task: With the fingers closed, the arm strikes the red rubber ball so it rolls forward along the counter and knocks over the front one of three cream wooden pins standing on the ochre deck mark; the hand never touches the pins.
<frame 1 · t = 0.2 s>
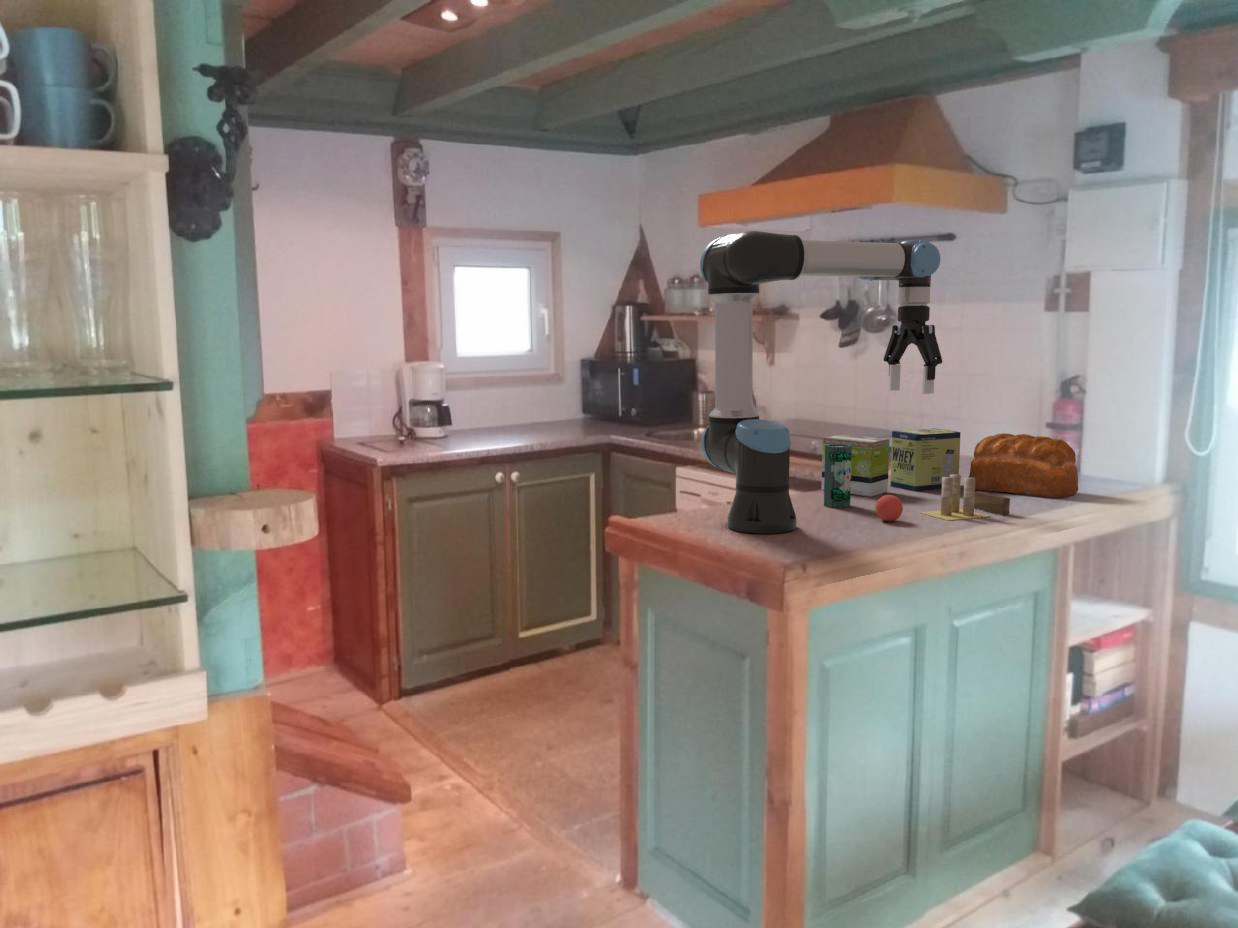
hand: (910, 392, 241), 28 cm above the counter, tool pointing down, fingers open, 13 cm apart
can: (836, 506, 241), on the counter
ball: (889, 508, 221), on the counter
pin front: (946, 515, 227), on the counter
pin rear left: (953, 512, 231), on the counter
back rail: (990, 511, 232), on the counter
deck mark: (954, 514, 228), on the counter
protein box: (924, 487, 268), on the counter
bread: (1021, 492, 260), on the counter
pin rear right: (968, 516, 226), on the counter
tea box: (854, 492, 262), on the counter
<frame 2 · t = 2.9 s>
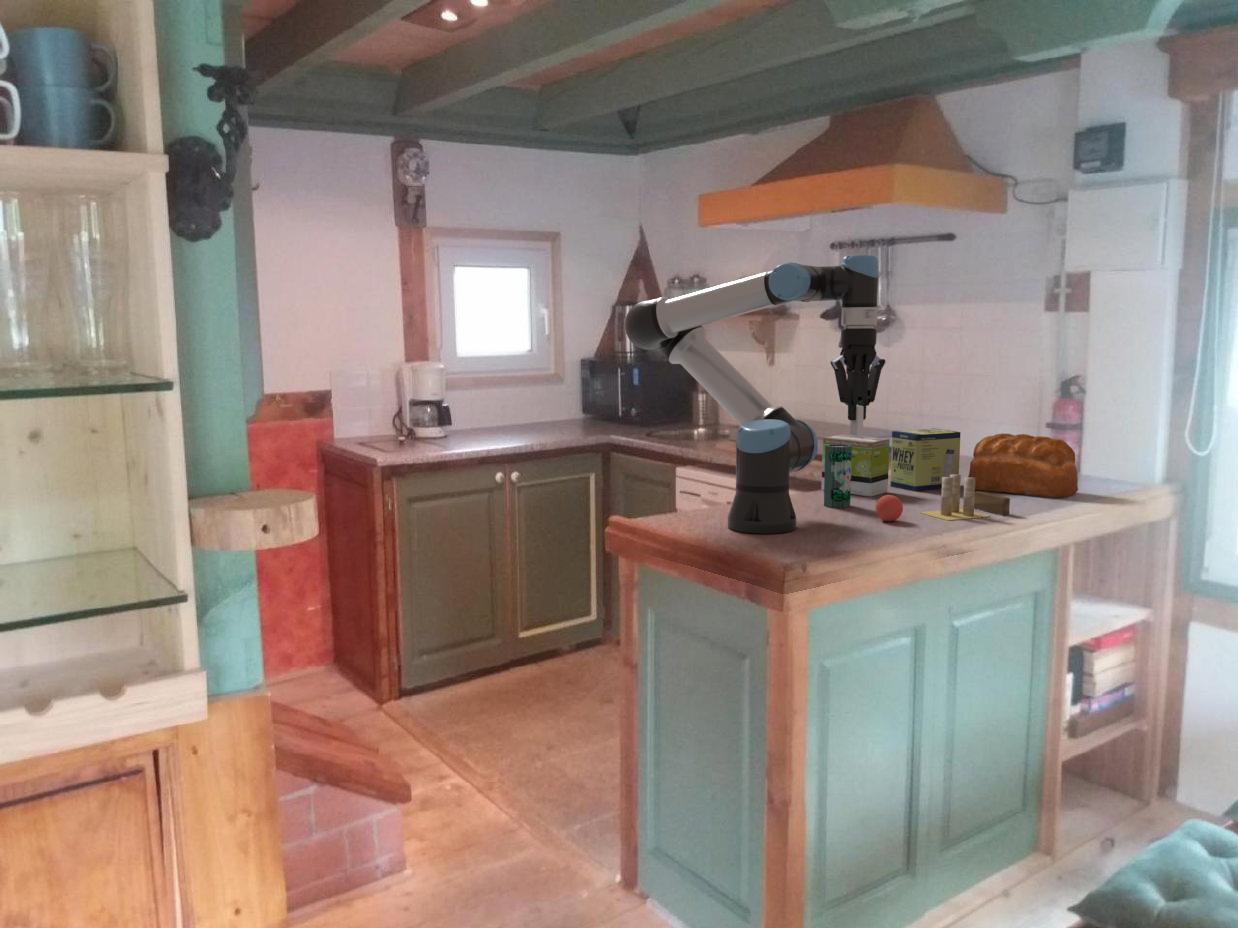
hand: (856, 434, 215), 20 cm above the counter, tool pointing down, fingers closed
nothing on the counter moved.
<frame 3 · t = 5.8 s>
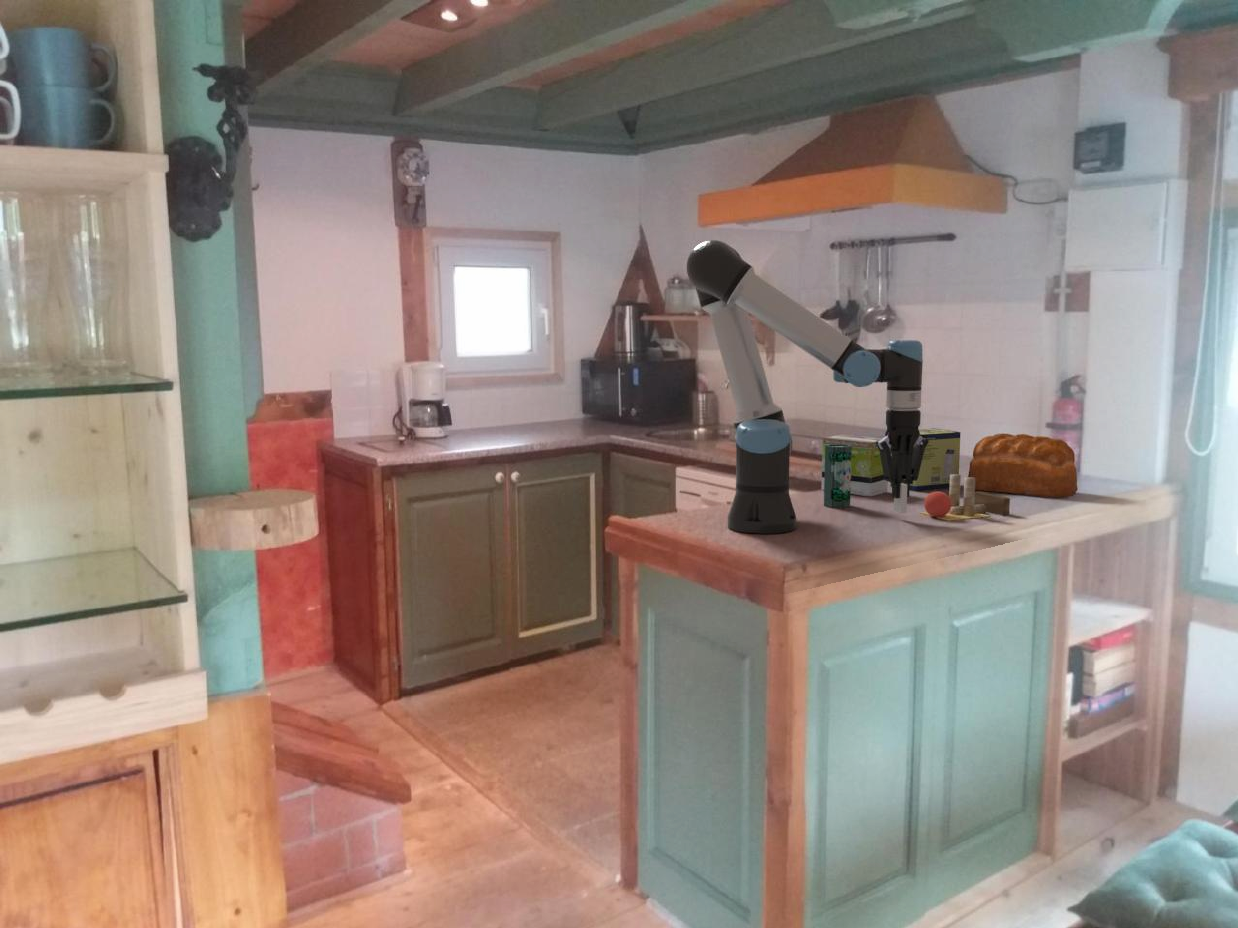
hand: (900, 511, 222), 2 cm above the counter, tool pointing down, fingers closed
ball: (937, 504, 225), on the counter
pin front: (951, 512, 228), point 1 cm above the counter, tilted 90°
everything else where it was.
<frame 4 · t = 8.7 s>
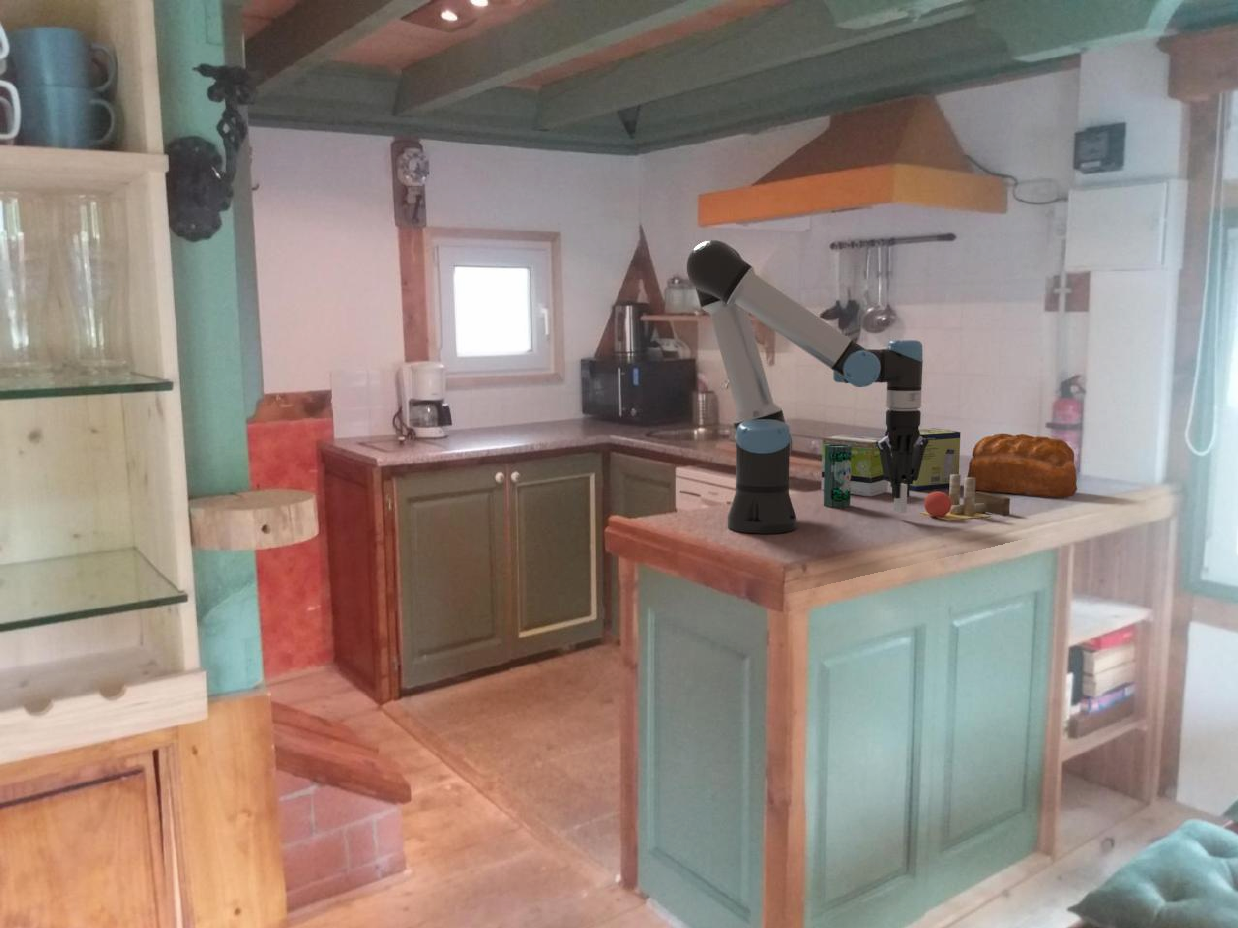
hand: (900, 511, 222), 2 cm above the counter, tool pointing down, fingers closed
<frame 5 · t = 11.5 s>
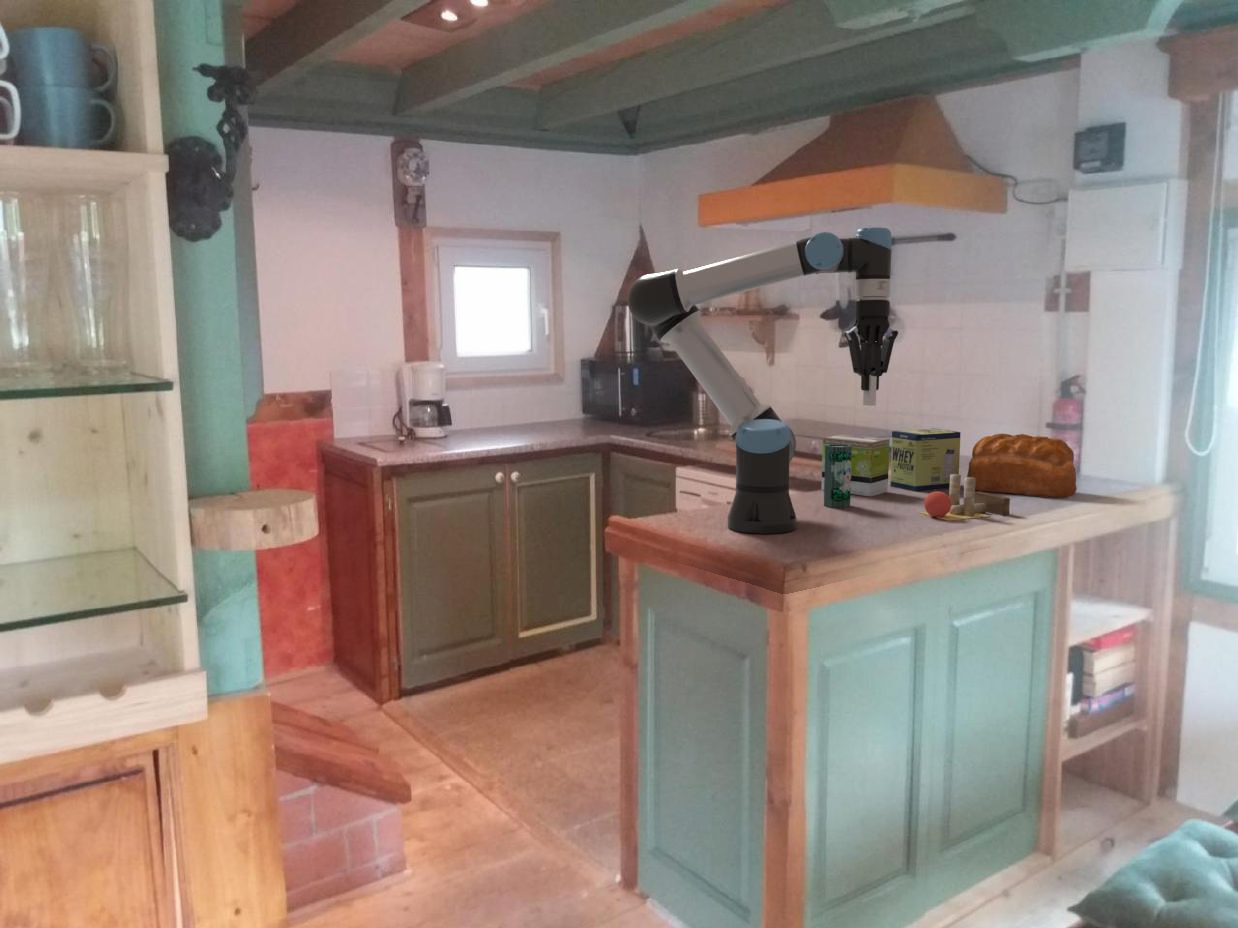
hand: (869, 405, 219), 26 cm above the counter, tool pointing down, fingers closed
nothing on the counter moved.
at the end: pin front tilted 90°; pin front never touched the robot; ball moved 13.1 cm from its start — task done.
